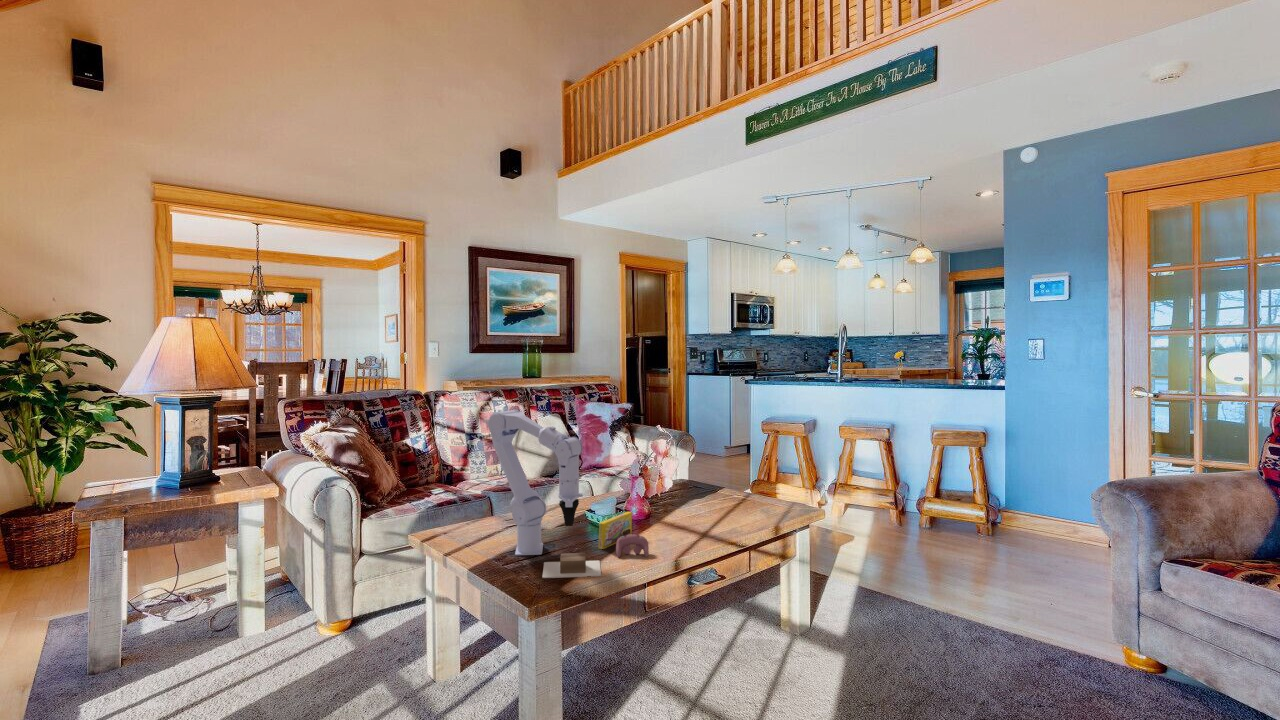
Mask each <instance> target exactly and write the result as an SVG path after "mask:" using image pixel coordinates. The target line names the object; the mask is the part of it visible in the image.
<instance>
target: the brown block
mask: <svg viewBox="0 0 1280 720" xmlns="http://www.w3.org/2000/svg"><path fill="white" fill-rule="evenodd" d="M559 559H560V560H559V562H560V574H566V573H586V561H587V560H586V552H575V553H574V552H571V553H569V552H567V553H560V558H559Z"/></svg>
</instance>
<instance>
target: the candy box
mask: <svg viewBox="0 0 1280 720" xmlns="http://www.w3.org/2000/svg"><path fill="white" fill-rule="evenodd" d="M632 525H633V512H632V511H625V512H623V513H620V514H619V515H616V516H614V517H611V518H608V519H606V520H602V521H601V522H599V524H598V548H597V549H598V550H602V549H603V550H605V549H607V548H609V547H611V546H614V545H616V543H617V540H618V539H619V538H620V537H621V536H625V535H631V534H632V531H633V530H632V529H633V528H632V527H633V526H632Z"/></svg>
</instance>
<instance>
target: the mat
mask: <svg viewBox="0 0 1280 720" xmlns="http://www.w3.org/2000/svg"><path fill="white" fill-rule="evenodd" d="M587 576H591V577H602V571H601V563H600V560H586V573H566V574H560V561H544V562H543V570H542V576H541V577H542V579H556V578H558V579H559V578H562V579H563V578H587Z"/></svg>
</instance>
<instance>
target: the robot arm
mask: <svg viewBox="0 0 1280 720" xmlns="http://www.w3.org/2000/svg"><path fill="white" fill-rule="evenodd" d="M488 418H489V419H488V421H487V427H488V430H489V433H490V435H491V441H492V445H493V448H494V451H495V453H496V455H497V458H498V460H499V463H500V465H501V468H502V470H503V472H504V476H505V478H506V479H507V482H508V485H509V487H510V490H511V492H512V494H513V497H512V499H511V500H510V503H509V505H510V509H511V517H512V519H513V521H514V522H515V525H516V526H517V528H516V532H517V533H516V534H517V535H516V536H517V537H516V538H517V542H516V543H517V544H516V547H515V548H516V549H515V553H514V556H535V555H536V556H540V555H542V554H543V547H544V543H543V542H542V522H543V517H544V516H545V515H546V513H547V505H546V501H544V499H542V498H541V496H540V494H539V492H538V491H536V490H534V489H532V488H531V486H530V484H529V481H528V479H527V477H526V474H525V471H524V469H523V467H522V465H521V464H522V463H521V462H520V460H519V456H518V454H517V452H516V450H515V448H514V445H513V440H514V438H515V437H516V436H517V434H518V433H519V431H520V430H521V431H523V432H525V433H527V434H528V435H531V436H533V437H535V438H538V439H537V440H538V442H539V444H540V445H542V446H544V447H545V448H547V449H549V450H551V451H553V452H554V453H555V457H556V458H557V463H558V470H559V471H558V478H559V479H558V486H559V487H558V498H559V499H560V500H559V504H558V505H559V507H560V509H561V512H562V514H563V520H564V525H565V527H573V525H574V521H575V515H576V511H577V509H578V507H579V504H580V503H579V502H580V501H579V498H583V496H584V494H583V492H579V491H580V489H579V488H580V483H579V482H580V479H579V477H580V475H579V474H580V473H579V471H580V468H579V467H580V464H579V462H580V461H579V460H580V459H579V456H580V455H581V454H582V452H583V448H584V447H583V443H582V441H581V440H580V439H579V438H578V437H577V436H570V437H569V436H568V434H566V433H562V432H561V431H558V430H556V427H555V426H547V427H543V426H541V424H539V423H538V422H536V421H534V420H532V418H529V417H528V416H526V415H525V413H524V412H522V411H520V410H519V409H512V410H507V411H506V410H505V411H494V412H493V413H491V414H490V416H489V417H488Z"/></svg>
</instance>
